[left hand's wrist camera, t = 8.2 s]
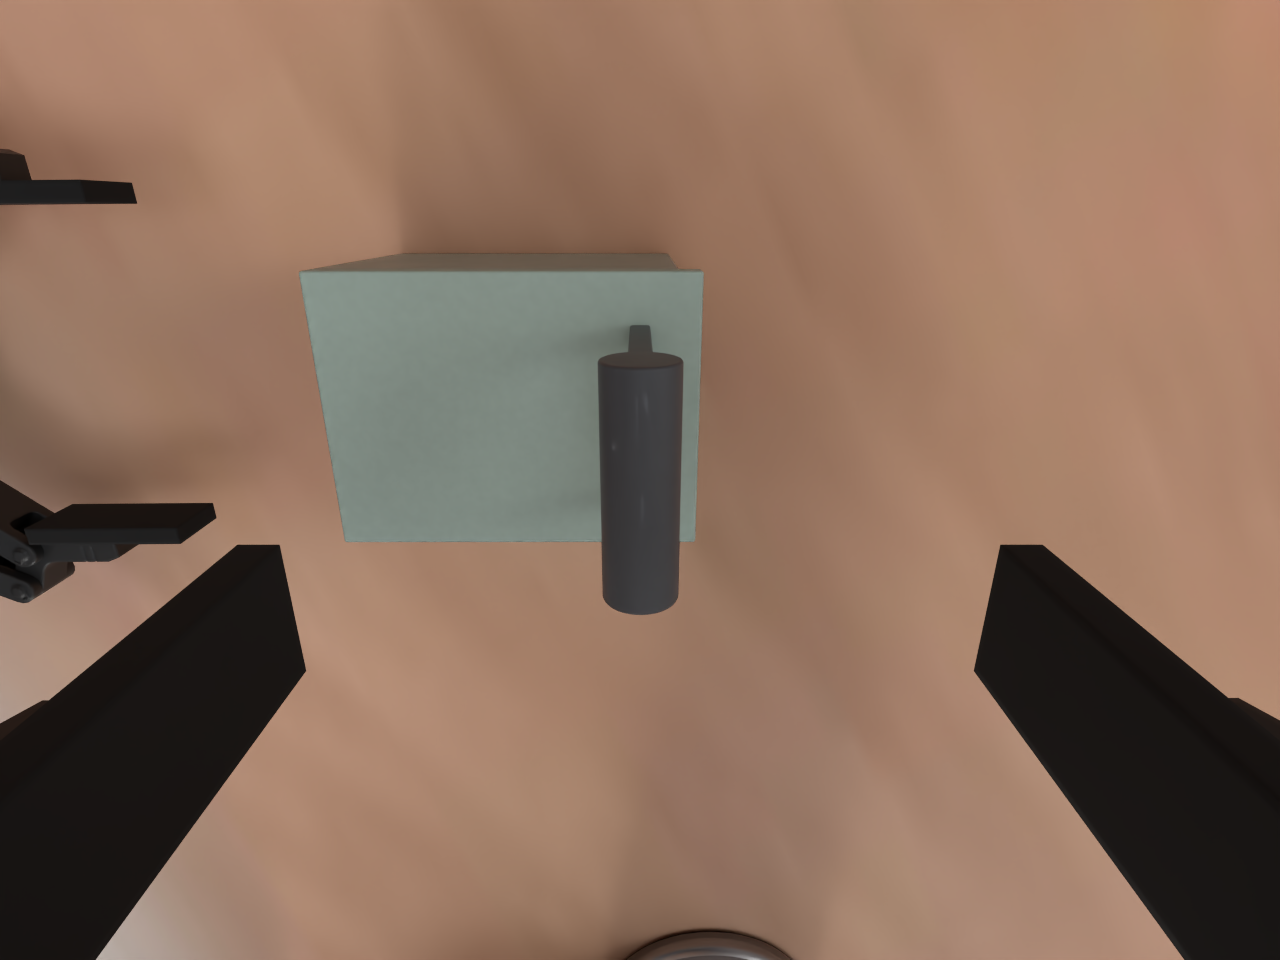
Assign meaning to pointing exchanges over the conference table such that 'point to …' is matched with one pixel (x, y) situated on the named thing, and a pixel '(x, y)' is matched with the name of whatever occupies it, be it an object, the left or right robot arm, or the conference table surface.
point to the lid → (516, 410)
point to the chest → (513, 261)
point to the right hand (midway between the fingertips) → (158, 371)
